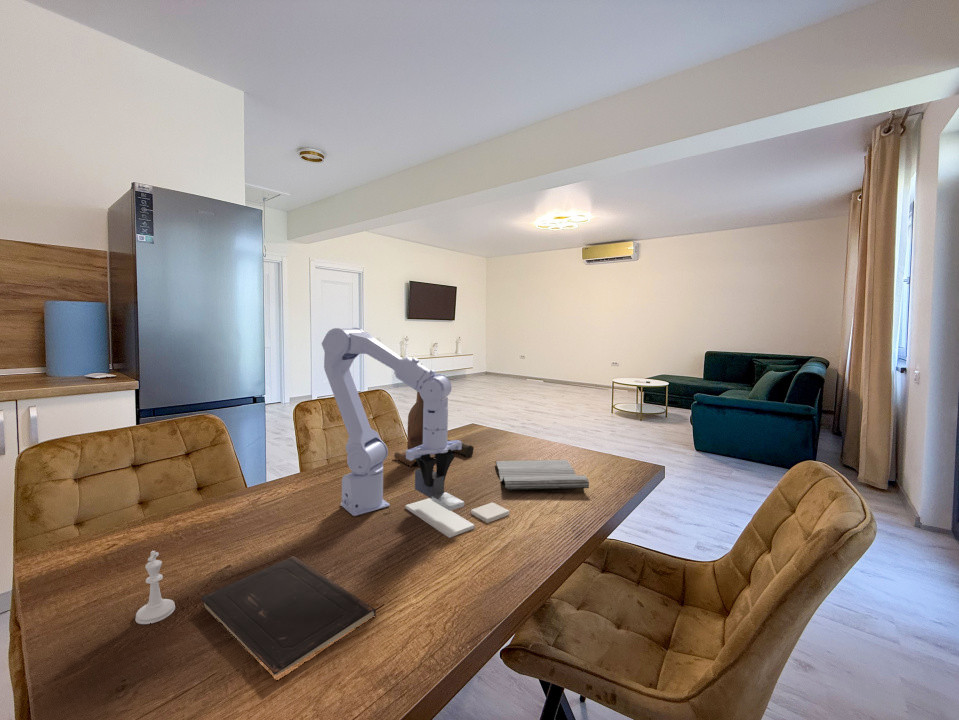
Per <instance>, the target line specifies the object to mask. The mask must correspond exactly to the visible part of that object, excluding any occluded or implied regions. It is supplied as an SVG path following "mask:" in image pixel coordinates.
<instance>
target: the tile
mask: <svg viewBox="0 0 959 720" xmlns="http://www.w3.org/2000/svg"><path fill="white" fill-rule="evenodd" d="M470 514H471V515H472V516H474V517H476V518H477V519H479V520H480V521H483V522H485V523H487V524H489V523H492V522H494V521H497V520H499V519H502V518H505V517H507V516H510V510H509V509H507V508H505V507H503V506H501V505H499V504H498V503H495V502H489V503H486V504H484V505H481V506H478V507H475V508H473V509H472V508H471V510H470Z"/></svg>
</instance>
